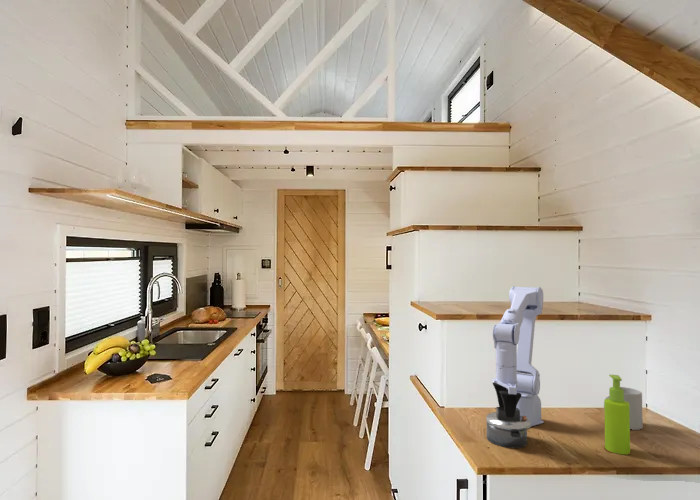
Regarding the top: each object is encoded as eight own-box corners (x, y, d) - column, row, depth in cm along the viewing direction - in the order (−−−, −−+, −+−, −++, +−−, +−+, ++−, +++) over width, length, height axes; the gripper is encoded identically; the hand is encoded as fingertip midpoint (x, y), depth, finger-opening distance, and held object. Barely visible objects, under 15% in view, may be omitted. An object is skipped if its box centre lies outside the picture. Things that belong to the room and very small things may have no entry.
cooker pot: (479, 430, 129) (479, 414, 130) (515, 430, 130) (514, 413, 130) (497, 450, 115) (497, 431, 116) (536, 450, 116) (536, 431, 116)
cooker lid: (482, 414, 129) (482, 401, 130) (523, 416, 128) (523, 403, 128) (490, 429, 118) (490, 414, 118) (536, 431, 116) (536, 417, 116)
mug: (627, 419, 140) (626, 386, 141) (649, 429, 132) (649, 393, 132) (595, 421, 138) (594, 387, 139) (615, 431, 130) (615, 395, 130)
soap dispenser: (625, 445, 119) (624, 374, 120) (633, 455, 113) (631, 380, 114) (601, 442, 121) (600, 372, 122) (607, 452, 115) (606, 378, 116)
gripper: (487, 359, 131) (487, 403, 131) (497, 370, 117) (497, 420, 116) (510, 360, 130) (510, 404, 130) (524, 371, 116) (524, 421, 115)
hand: (506, 412), depth 123 cm, fingers open, 7 cm apart
